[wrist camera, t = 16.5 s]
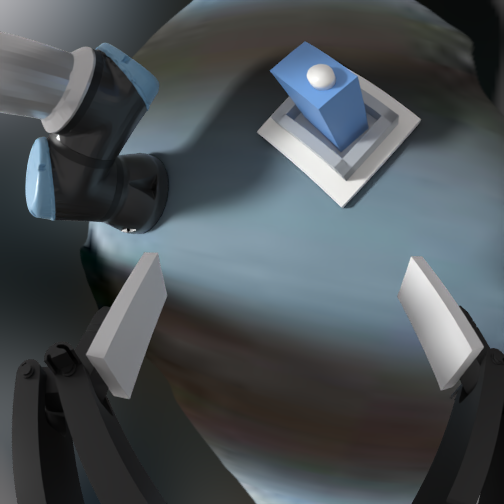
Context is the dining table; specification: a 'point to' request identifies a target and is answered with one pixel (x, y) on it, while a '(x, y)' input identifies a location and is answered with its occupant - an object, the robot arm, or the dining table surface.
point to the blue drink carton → (324, 94)
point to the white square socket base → (350, 159)
